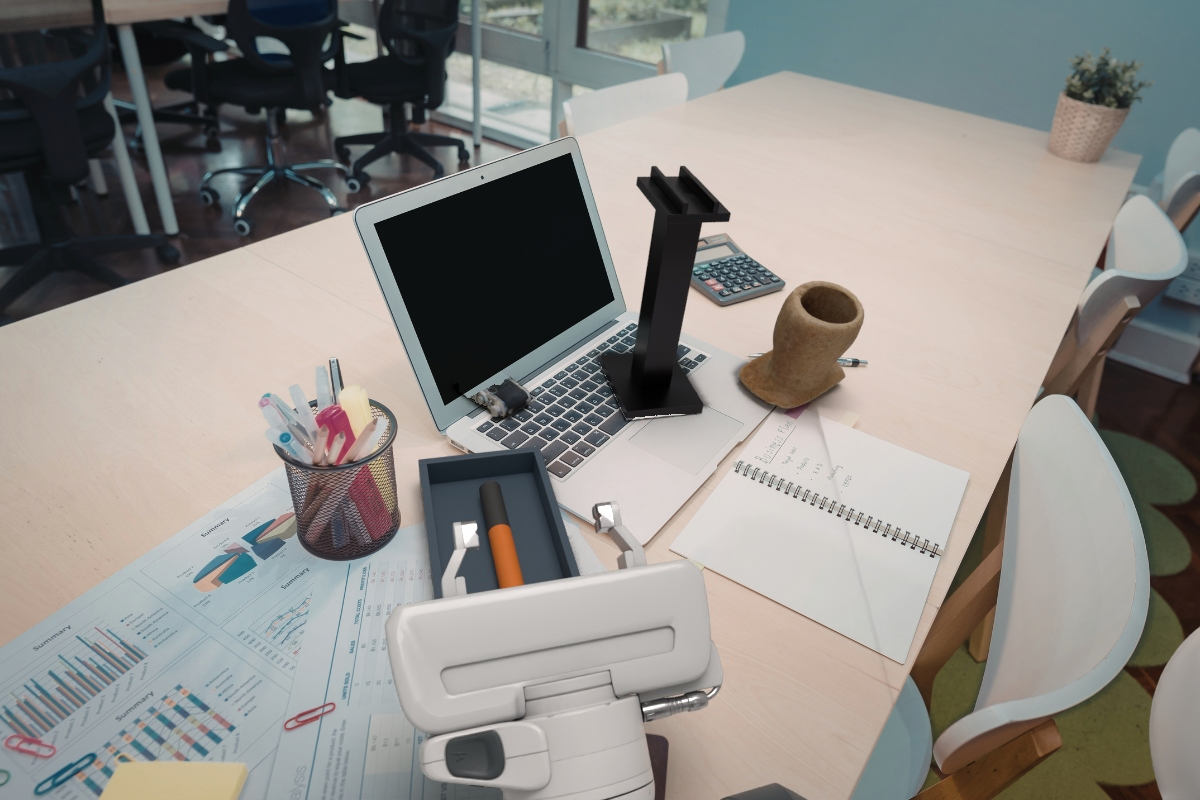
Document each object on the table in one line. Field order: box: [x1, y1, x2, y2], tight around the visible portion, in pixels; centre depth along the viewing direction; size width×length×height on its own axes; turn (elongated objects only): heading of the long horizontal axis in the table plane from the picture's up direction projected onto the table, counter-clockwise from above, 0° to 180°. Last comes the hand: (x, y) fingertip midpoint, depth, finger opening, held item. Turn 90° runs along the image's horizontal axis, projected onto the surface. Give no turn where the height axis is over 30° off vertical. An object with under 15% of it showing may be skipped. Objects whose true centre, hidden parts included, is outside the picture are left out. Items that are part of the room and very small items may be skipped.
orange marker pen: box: [479, 481, 524, 589], centre depth 67 cm, size 20×2×2 cm, turn 16°
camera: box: [471, 375, 533, 418], centre depth 88 cm, size 5×10×4 cm, turn 46°
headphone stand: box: [598, 165, 732, 418], centre depth 85 cm, size 12×10×27 cm
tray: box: [417, 445, 581, 600], centre depth 67 cm, size 26×13×4 cm, turn 16°
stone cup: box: [738, 280, 865, 409], centre depth 92 cm, size 15×12×15 cm
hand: (535, 513), depth 48 cm, fingers open, 8 cm apart
